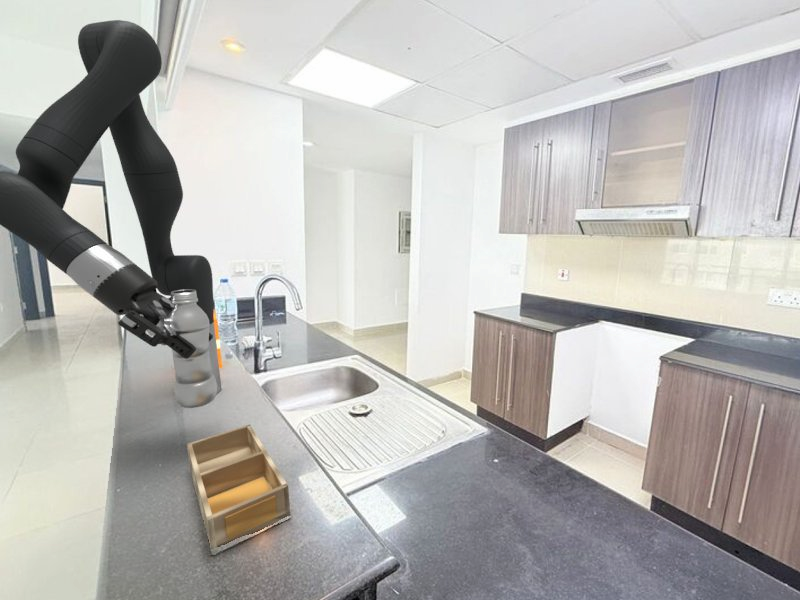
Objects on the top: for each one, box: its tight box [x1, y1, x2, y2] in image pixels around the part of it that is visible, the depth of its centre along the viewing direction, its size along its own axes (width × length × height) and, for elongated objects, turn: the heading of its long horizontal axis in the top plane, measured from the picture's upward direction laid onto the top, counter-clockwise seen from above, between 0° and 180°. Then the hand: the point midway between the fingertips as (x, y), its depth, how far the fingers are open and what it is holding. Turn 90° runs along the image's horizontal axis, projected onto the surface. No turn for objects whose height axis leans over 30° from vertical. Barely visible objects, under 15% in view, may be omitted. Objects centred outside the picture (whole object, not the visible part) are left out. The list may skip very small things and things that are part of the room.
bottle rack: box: [186, 424, 291, 549], centre depth 53 cm, size 20×10×5 cm, turn 37°
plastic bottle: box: [168, 289, 218, 409], centre depth 60 cm, size 6×7×20 cm
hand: (201, 347), depth 61 cm, fingers closed on plastic bottle, 6 cm apart
